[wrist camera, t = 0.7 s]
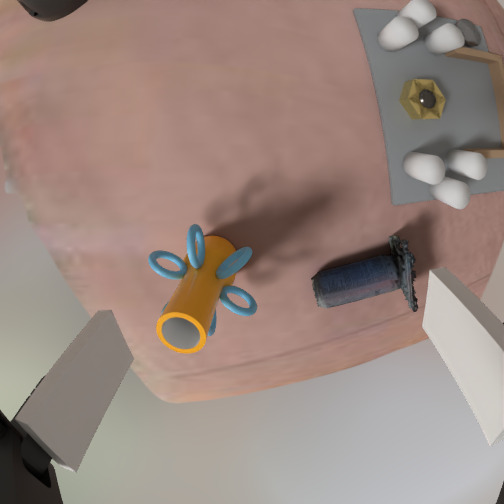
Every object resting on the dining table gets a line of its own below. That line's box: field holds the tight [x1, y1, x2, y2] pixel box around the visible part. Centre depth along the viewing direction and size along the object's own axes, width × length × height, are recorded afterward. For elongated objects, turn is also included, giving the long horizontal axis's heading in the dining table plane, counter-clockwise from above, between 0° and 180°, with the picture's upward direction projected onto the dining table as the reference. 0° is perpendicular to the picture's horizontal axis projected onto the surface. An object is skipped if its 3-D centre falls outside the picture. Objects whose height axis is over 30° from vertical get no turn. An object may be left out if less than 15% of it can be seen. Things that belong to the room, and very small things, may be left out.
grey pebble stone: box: [454, 19, 481, 47], centre depth 20 cm, size 4×4×1 cm
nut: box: [399, 79, 446, 120], centre depth 25 cm, size 4×5×2 cm
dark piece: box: [311, 236, 418, 313], centre depth 32 cm, size 9×8×12 cm
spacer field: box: [353, 0, 504, 209], centre depth 23 cm, size 24×20×6 cm
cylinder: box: [148, 224, 257, 353], centre depth 28 cm, size 12×10×15 cm
